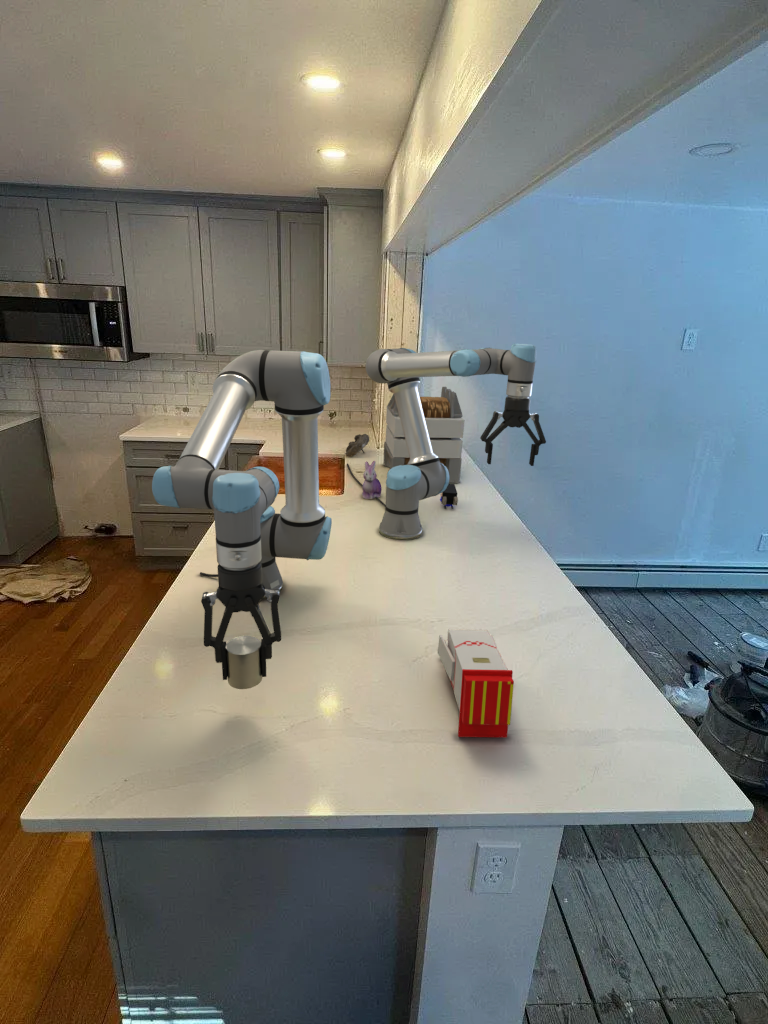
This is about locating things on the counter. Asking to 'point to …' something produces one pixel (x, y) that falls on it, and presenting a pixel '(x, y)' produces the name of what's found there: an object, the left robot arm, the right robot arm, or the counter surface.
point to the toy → (478, 682)
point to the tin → (244, 662)
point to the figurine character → (449, 496)
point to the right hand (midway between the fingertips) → (510, 464)
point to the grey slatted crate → (429, 432)
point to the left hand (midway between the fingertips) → (245, 673)
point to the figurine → (371, 482)
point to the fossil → (357, 445)
